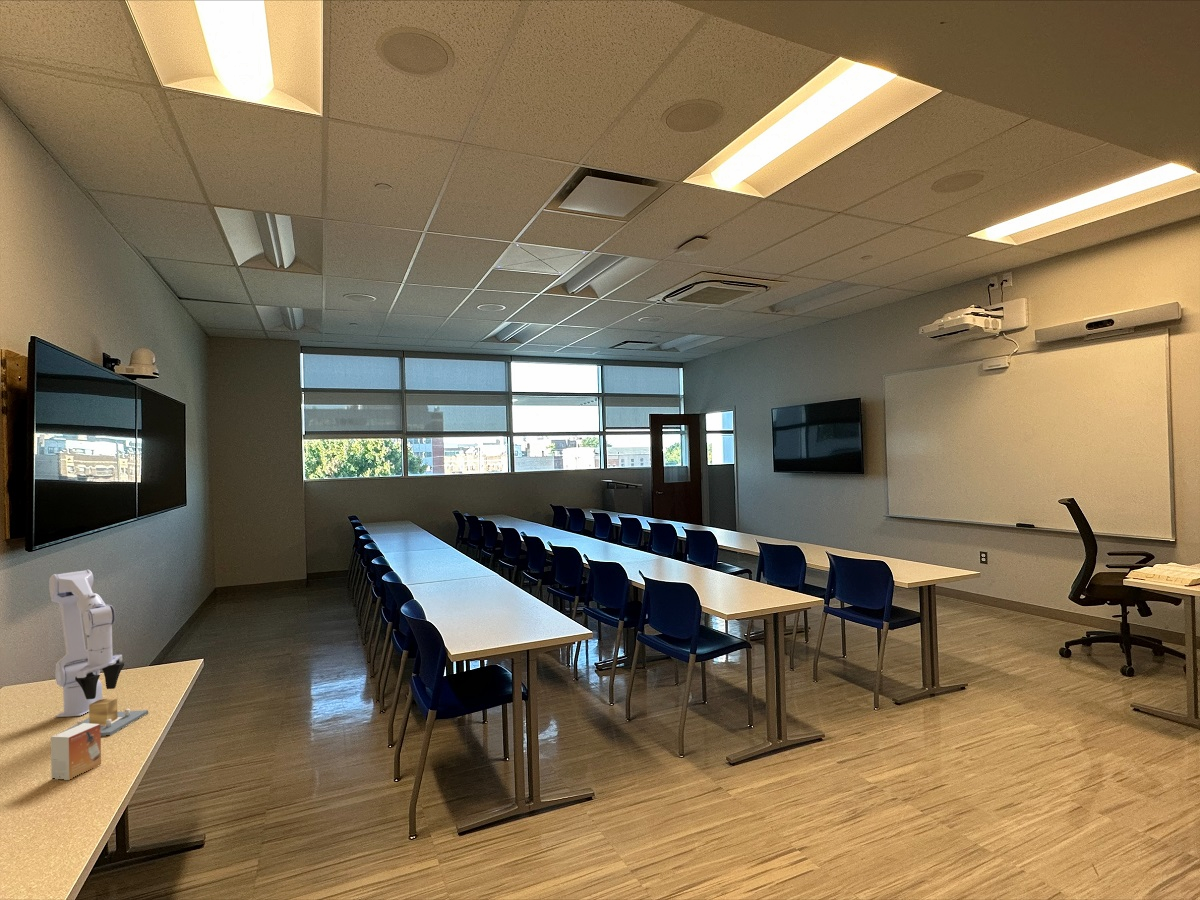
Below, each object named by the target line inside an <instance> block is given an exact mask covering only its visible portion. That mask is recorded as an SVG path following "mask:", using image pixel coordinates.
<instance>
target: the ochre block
mask: <svg viewBox="0 0 1200 900" xmlns="http://www.w3.org/2000/svg"><path fill="white" fill-rule="evenodd" d="M117 712H118V698H102V699H100V700H98V701H96V702H94V703H92V704H90V705H89V712H88V715H89V716H88V718H89V723H92V724H100V725H105V724H106V720H108V719H111V722H112V721H114V720H116V719H118V715H117Z"/></svg>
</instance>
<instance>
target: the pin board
mask: <svg viewBox="0 0 1200 900" xmlns="http://www.w3.org/2000/svg"><path fill="white" fill-rule="evenodd" d="M147 713H148V714H149V710H148V709H143V710H131V709H130V708H126V709H124V711H117V715H118V719H116V720H114V721H112V722H111V719H108V720H106V724H105V725H100V727H101V737H107V736H106V735H111V736H113V735H114V734H116V733H118V732H119V731H121V730H122V729H121V728H123V727H124V728H126V727H127V726H126V725H128V724H130V723H131V722H133V721H135V720H136V721H138V720H139V719H138V718H140V717H141V718H143V717H145V716H146V715H145V714H147ZM148 714H147V715H148ZM144 715H145V716H144ZM142 716H143V717H142ZM141 718H140V719H141ZM137 719H138V720H137ZM136 721H135V722H136ZM82 723H89V717H88V718H86V719H84V720H78V721H76V724H75V725H73V726H70V727H69V728H68V729H67V728H66V729H65V730H63V731H61V732H59V733H58V734H60V733H62V732H64V731H67V730H69V729H72V728H74V727H76V726H79V725H80V724H82ZM133 723H134V722H133ZM131 724H132V723H131ZM131 724H130V725H131ZM125 726H126V727H125ZM128 726H129V725H128ZM124 728H123V729H124ZM120 729H121V730H120ZM118 730H119V731H118ZM117 731H118V732H117ZM115 732H116V733H115ZM113 733H114V734H113ZM112 734H113V735H112Z"/></svg>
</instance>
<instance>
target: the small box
mask: <svg viewBox="0 0 1200 900" xmlns="http://www.w3.org/2000/svg"><path fill="white" fill-rule="evenodd" d="M68 729H69V728H68ZM66 730H67V729H66ZM63 731H64V732H63ZM63 731H61V732H62V733H61V732H59V733H60V734H59V733H58V734H54V735H52V736H50V753H51V754H50V765H51V766H50V767H51V768H50V769H51V771H50V774H51V775H50V777H51V779H52V778H55V779H54V780H58V779H64V780H63V781H70V779H71V780H72V779H74V778H76V777H78V776H80V775H82V774H84V772H85V773H87V772H89V771H91V770H93V769H95V768H97V767H96V766H98V765H100V764H101V765H102V739H101V737H102V736H101V727H100V724H92V723H82V724H80V725H79V726H76V727H74V728H72V729H69V730H67V731H65V730H63ZM101 765H100V766H101ZM94 767H95V768H94ZM98 767H99V766H98ZM92 768H93V769H92ZM90 769H91V770H90ZM88 770H89V771H88ZM86 771H87V772H86ZM81 773H82V774H81ZM79 774H80V775H79ZM77 775H78V776H77ZM75 776H76V777H75ZM73 777H74V778H73Z"/></svg>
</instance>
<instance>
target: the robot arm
mask: <svg viewBox="0 0 1200 900" xmlns="http://www.w3.org/2000/svg"><path fill="white" fill-rule="evenodd" d="M93 585H94V574H93V572H92V571H91V570H90V569H85V570H77V571H71V572H63V573H54V574H52V575H51V576H50V577H49V581H48V589H49V590H48V591H49V595H50V599H51V602H53V603H57V604H58V608H59V611H60V617H61V624H62V631H63V632H62V633H63V639H64V640H63V641H64V647H65V655H63V657H61V658H60V659H59V660H58V661H57V662H56V664H55V673H54V678H55V682H56V684H57V686H59V687H61V688H62V690H63V691H62V694H63V699H62V700H63V711H62V712H60V713H58V714H56V715H55V718H64V717H80V716H81V715H82V716H84V715H86V714H88V713H89V705H90V704H92V703H94V702H96V701H98V700H100V699H103V683H102V682H101V680H100V677H101V674H100V673H101V670H102V672H103V675H104V679H105V687H106V690H113V689H116V687H117V682H118V680H119V676H120V674H121V671H122V670H123V668H124V666H125V662H124V661H123V654H113V651H114V650H113V625H114V624H115V622H116V611H115V608H114V606H113V605H112V604H106V603H105V601H104V599H102V597H101V596H100V594H98V593H96V592H95V593H94V591H93V590H92V587H93ZM82 616H83V617H82ZM83 626H84V628H83ZM84 633H85V635H86V638H87V639H86V640H87V641H85V635H84ZM86 645H87V646H86ZM86 647H87V648H86ZM122 661H123V662H122ZM87 712H88V713H87ZM85 713H86V714H85ZM83 714H84V715H83Z"/></svg>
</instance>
